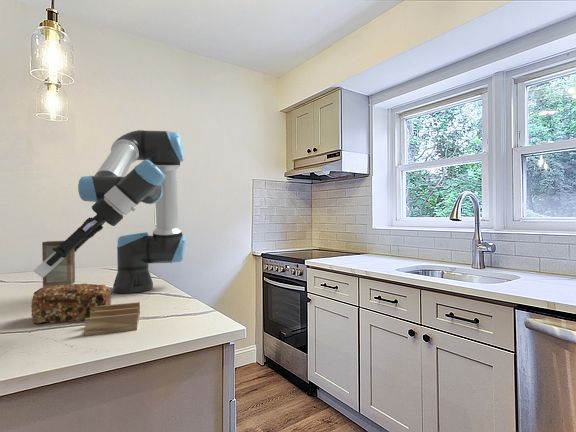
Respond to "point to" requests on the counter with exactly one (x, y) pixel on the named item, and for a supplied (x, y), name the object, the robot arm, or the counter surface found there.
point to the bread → (68, 302)
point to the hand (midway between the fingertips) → (41, 272)
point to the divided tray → (113, 318)
